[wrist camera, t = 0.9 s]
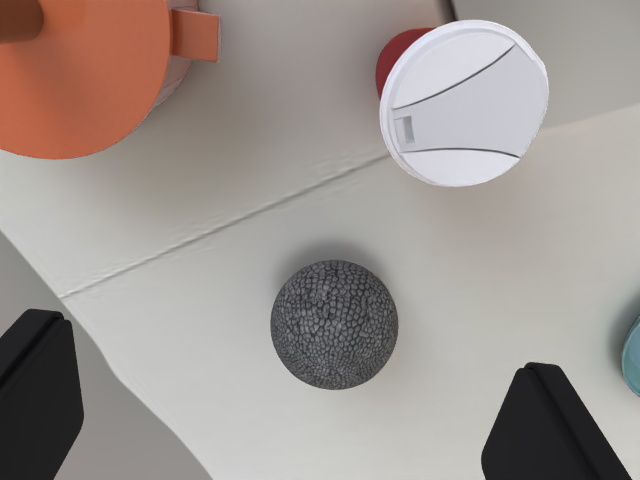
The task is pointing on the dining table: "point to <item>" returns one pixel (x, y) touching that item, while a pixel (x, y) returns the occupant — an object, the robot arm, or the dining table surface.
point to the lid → (79, 72)
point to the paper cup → (460, 101)
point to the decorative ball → (334, 325)
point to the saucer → (632, 358)
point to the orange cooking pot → (190, 41)
